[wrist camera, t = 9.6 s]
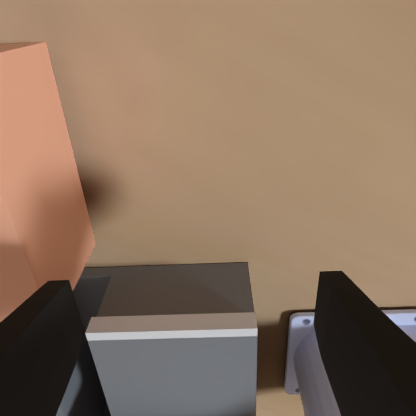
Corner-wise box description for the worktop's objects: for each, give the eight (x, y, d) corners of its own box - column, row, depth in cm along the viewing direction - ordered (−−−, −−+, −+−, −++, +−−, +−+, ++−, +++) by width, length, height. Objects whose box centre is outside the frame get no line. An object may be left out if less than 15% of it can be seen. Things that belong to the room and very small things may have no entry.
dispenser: (247, 255, 21) (269, 414, 13) (247, 397, 28) (261, 562, 20) (-60, 266, 22) (-222, 424, 14) (12, 402, 29) (-69, 563, 21)
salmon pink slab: (45, 42, 15) (-47, 63, 10) (95, 243, 20) (53, 331, 14) (-3, 44, 15) (-121, 67, 10) (59, 245, 20) (4, 332, 15)
